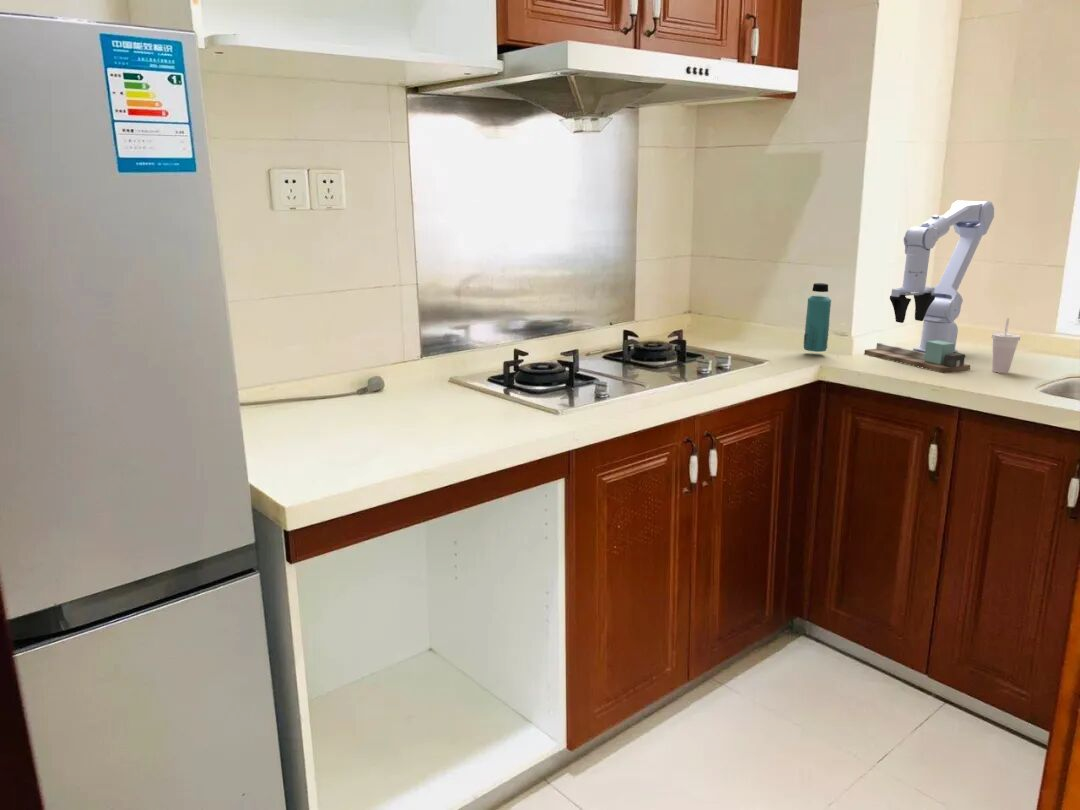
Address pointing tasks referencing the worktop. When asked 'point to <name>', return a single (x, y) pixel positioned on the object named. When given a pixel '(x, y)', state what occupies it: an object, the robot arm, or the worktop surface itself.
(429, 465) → the worktop surface
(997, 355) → the smoothie
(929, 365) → the track
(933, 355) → the block
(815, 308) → the beverage bottle
